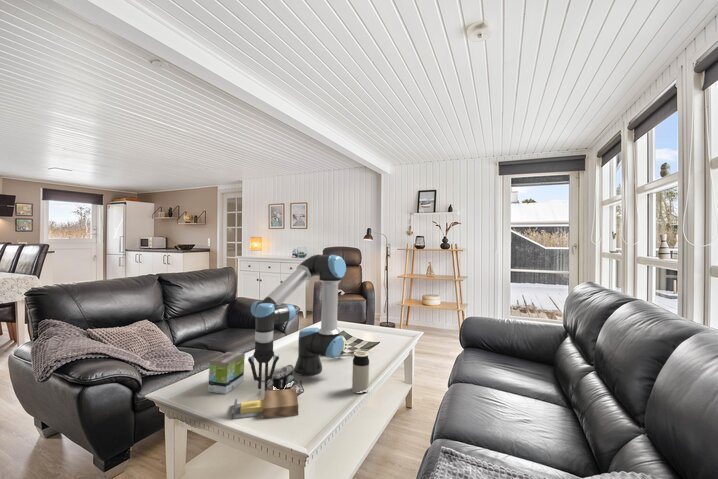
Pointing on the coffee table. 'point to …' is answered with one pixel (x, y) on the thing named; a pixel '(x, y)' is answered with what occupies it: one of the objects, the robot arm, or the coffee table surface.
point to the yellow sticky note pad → (251, 406)
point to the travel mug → (360, 371)
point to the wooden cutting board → (280, 403)
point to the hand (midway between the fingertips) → (262, 396)
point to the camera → (283, 377)
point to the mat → (237, 414)
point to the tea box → (226, 372)
